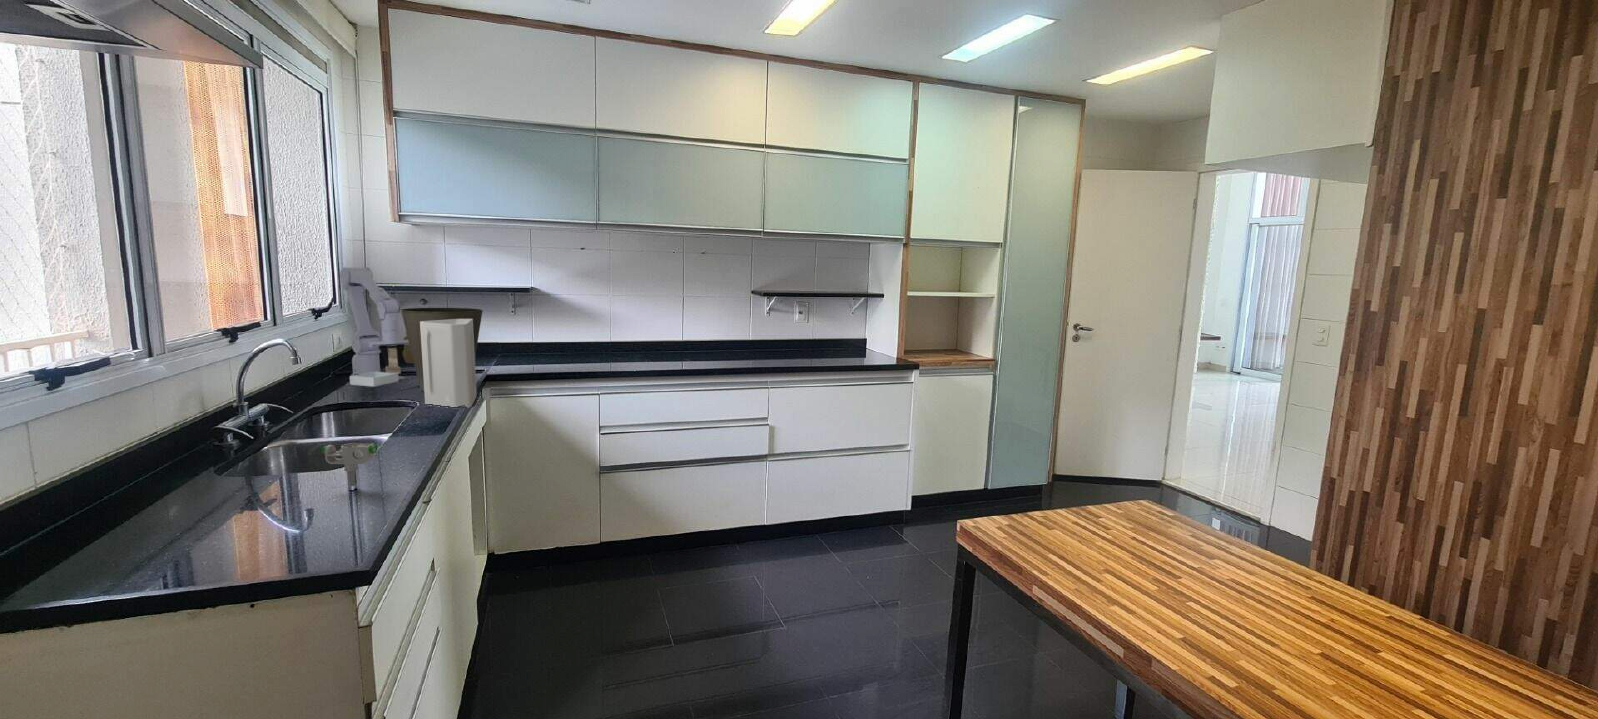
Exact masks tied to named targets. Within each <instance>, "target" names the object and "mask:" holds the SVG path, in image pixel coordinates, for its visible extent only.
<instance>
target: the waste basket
mask: <svg viewBox="0 0 1598 719" xmlns="http://www.w3.org/2000/svg"><path fill="white" fill-rule="evenodd" d="M400 312H401V315H402V320H403V323H404V324H403V325H404V329H405V332H406V333H407V337H408V341H409V345H410V349H411V353H412V357H413V361H414V364H413V366H414V369H415V373H416V378H417V382H418V386H419V390H420V391H422V392H424V377H423V362H422V346H421V330H420V322H421V321H434V320H448V319H473V332H474V352H475V356H476V354H477V348H478V342H479V334H480V330H481V323H482V317H483V312H484V309H481V308H474V307H473V308H472V307H471V308H470V307H469V308H467V307H411V308H410V307H409V308H401V309H400ZM406 333H405V334H406Z"/></svg>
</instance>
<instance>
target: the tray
mask: <svg viewBox="0 0 1598 719" xmlns="http://www.w3.org/2000/svg"><path fill="white" fill-rule="evenodd" d="M398 376H399V374H398V373H387V372H386V371H385V372H384V371H380V372H369V373H364V374H354V375H349V385H351V386H361V387H369V388H370V387H372V388H374V387H379V386H383V385H384V386H385V385H388V384H393V383H394V384H395V383H399V381H400V379H398Z"/></svg>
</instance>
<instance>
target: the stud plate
mask: <svg viewBox="0 0 1598 719" xmlns="http://www.w3.org/2000/svg"><path fill="white" fill-rule="evenodd" d="M407 378H409V376H402V375H398V379H399V380H403V379H407Z"/></svg>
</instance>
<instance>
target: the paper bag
mask: <svg viewBox="0 0 1598 719" xmlns="http://www.w3.org/2000/svg"><path fill="white" fill-rule="evenodd" d="M420 330H421V346H422V362H423V377H424V391H423V392H424V393H423V394H424V404H433V405H441V406H450V407H458V406H461V405H465V406H466V407H467V408H466V409H468V408H472V406H473V404H474V403H475V400H476V399H477V374H476V355H475V352H474V332H473V319H448V320H434V321H421V322H420Z"/></svg>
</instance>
